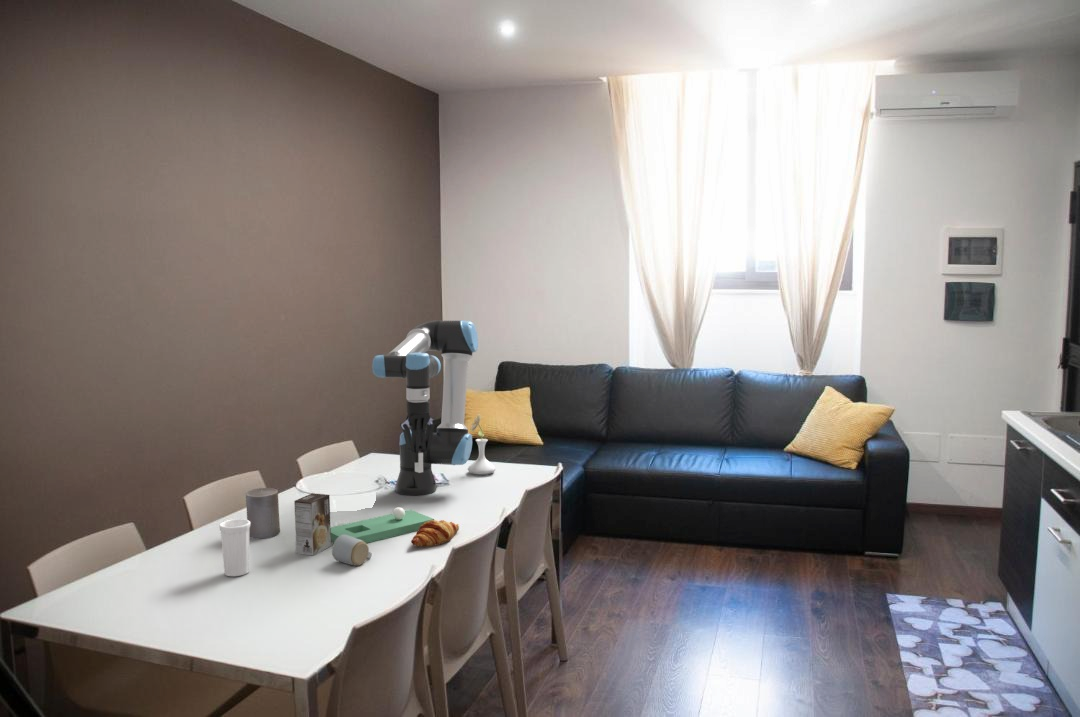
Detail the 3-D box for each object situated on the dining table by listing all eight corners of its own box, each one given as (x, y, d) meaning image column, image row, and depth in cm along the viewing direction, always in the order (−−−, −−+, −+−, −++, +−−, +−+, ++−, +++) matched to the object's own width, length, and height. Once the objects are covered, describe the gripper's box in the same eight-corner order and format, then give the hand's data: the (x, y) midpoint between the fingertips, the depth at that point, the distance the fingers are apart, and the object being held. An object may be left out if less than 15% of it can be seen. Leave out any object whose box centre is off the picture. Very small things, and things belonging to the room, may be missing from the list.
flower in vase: (471, 469, 354) (470, 409, 351) (498, 470, 352) (497, 410, 349) (463, 477, 341) (463, 415, 338) (491, 478, 339) (491, 416, 336)
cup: (222, 580, 230) (220, 529, 228) (220, 570, 237) (218, 520, 236) (253, 576, 233) (251, 525, 232) (251, 566, 241) (249, 517, 239)
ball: (400, 517, 279) (400, 505, 279) (407, 519, 276) (407, 507, 276) (390, 519, 277) (390, 507, 276) (397, 522, 274) (396, 510, 273)
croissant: (450, 540, 274) (441, 517, 276) (473, 531, 269) (463, 507, 271) (406, 558, 257) (397, 533, 258) (429, 548, 251) (419, 522, 253)
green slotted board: (410, 516, 288) (410, 509, 288) (434, 526, 277) (434, 519, 277) (323, 536, 267) (323, 529, 266) (346, 548, 256) (345, 540, 256)
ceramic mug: (352, 569, 238) (352, 543, 238) (331, 564, 243) (331, 537, 242) (378, 559, 247) (378, 533, 247) (358, 554, 252) (357, 528, 251)
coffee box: (313, 543, 260) (312, 492, 258) (331, 546, 258) (330, 494, 256) (295, 553, 252) (293, 500, 250) (313, 556, 249) (312, 502, 248)
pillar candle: (267, 527, 276) (264, 482, 274) (286, 532, 270) (284, 486, 269) (241, 535, 268) (238, 489, 266) (260, 541, 263) (258, 493, 261)
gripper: (407, 404, 270) (408, 477, 273) (441, 399, 279) (442, 470, 281) (394, 401, 276) (395, 472, 278) (428, 397, 284) (429, 466, 287)
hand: (419, 471), depth 280 cm, fingers closed
